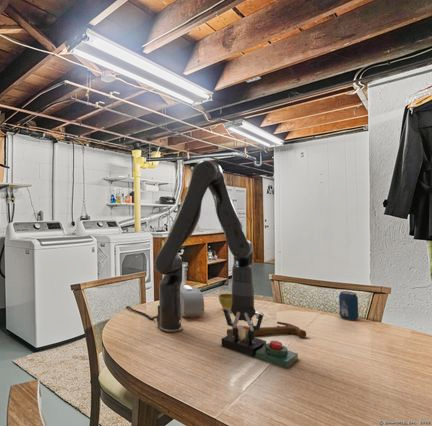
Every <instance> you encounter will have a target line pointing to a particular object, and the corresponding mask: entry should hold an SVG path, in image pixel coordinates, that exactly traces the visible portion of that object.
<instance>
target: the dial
mask: <svg viewBox="0 0 432 426" xmlns="http://www.w3.org/2000/svg"><path fill="white" fill-rule="evenodd" d="M249 331H250V328H249V325H248V326H247V325H243V324H241V325H237V339H238V340H239V341H242V342H249V341H250V334H249Z"/></svg>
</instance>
